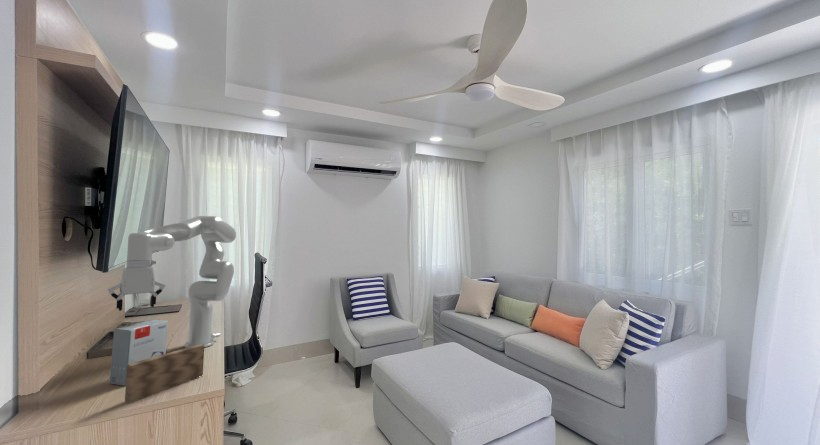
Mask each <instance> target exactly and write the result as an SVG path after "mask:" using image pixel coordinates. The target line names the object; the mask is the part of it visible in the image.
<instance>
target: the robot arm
mask: <svg viewBox="0 0 820 445" xmlns="http://www.w3.org/2000/svg"><path fill="white" fill-rule="evenodd" d="M197 236H200V237H201V239H202V242H203V244H204V246H205V253H204V256H203V259H202V263H201V265H200V268H199V273H198V274H199V276H200V278H202V279H206V280H197V281H195V282H193V283H192V284H190V286H189V288H188V297H189V298H188V299H189V308H190V309H189V321H188V322H189V325H188V338H187V339H188V341H187V342H185V343H184V344H183V347H184V348H188V347H191V346H195V345H198V344H203V345H204V348H208V347H210V346H212V345H214V344H215V338H219V337H221V333H220V332H217V333H213V332H212V328H213V327H212V325H213V310H214V309H213V305H212V302H220V301H221V302H222V301H223V300H225V299H226V297H227V296H228V293H229V290H230V287H231V283H232V280H233V278H234V273H235V268H234V264H233V263H232V262H231V261H228V260H224V256H225V251H224V250H225V249H224V247H223V246H222V243H223V244H229V243H232V242H234V241H235V240H236V237H237V232H236V230H235V228H234V227H233V226H232V225H230V223H228V222H226V221H225V220H224V219H222V218H220V217H219V216H215V215H214V216H213V215H212V216H211V215H199V216H195V217H191V218H190V219H186V220H183V221H181V222H178V223H171V224H167V225H161V226H156V227H151V228H149V229H146V230H143V231H141V232H132V233H130V234H129V235H128V237H127V238H128V240H127V251H126V253H127V254H126V267H124V268H123V269H122V273H121V279H120V283H118V284H116V285H114V286H111V287H108V289H107V291H108V293H109V295H110V296H111V297H112V298H114V299H115V300H116V307H115V308H116V309H118V311H119V312H121V311H122V310H123V303H124V302H123V298H125V296H126V295H139V294H150V295H151V296H150V300H149V302H150V303H149V306H150V307H151V308H154V307H155V305H156V304H157V297H158V296H159V295H160V294H161V293H162V292H163V290H164V289H165V287H166V284H164V283H162V282H161V283H160V282H158V281H156V280H155V270H154V267H153V265H156V264H157V260H152V259H153V257H152V256H153V251H154V252H155V251H157V252H158V251H159V252H163V251H168V250H170V249H171V248H173V246H174V245H175V242H182V241H188V240H190V239H193V238H194V237H197ZM210 280H211V281H210ZM214 280H216V281H214ZM155 286H156V287H157V286H158V287H159V288H158V289H157V290H155ZM117 289H119V294H116V293H115V290H117Z"/></svg>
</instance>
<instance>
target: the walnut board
mask: <svg viewBox="0 0 820 445" xmlns="http://www.w3.org/2000/svg"><path fill="white" fill-rule="evenodd" d="M204 360H205V347H204V345H203V344H198V345H195V346H191V347H188V348H185V347H184V348H181V349H178V350H174V351H171V352H167V353H166V354H163V355H159V356H156V357H152V358H149V359H145V360H141V361H138V362H134V363H131V364H127V375H126V386H125V392H124V402H125V403H127V404H132V403H134V402H137V401H139V400H142V399H145V398H147V396H148V397H150V396H153V395H155V393H156V394H158V393H161V392H163V390H164V391H165V390H166V391H167V390H169V389H172V388H174V386H175V387H177V386H179V384H180V385H182V384H181V383H183V384H185V383H188V382H190V381H189V380H191V381H193V380H195V379H194V378H196V379H198V378H197V377H199V376H201V377H203V376H204V362H205V361H204ZM202 375H203V376H202ZM199 378H200V377H199ZM192 379H193V380H192ZM187 381H188V382H187ZM184 382H185V383H184ZM176 385H177V386H176ZM171 387H172V388H171ZM160 391H161V392H160ZM152 394H153V395H152Z"/></svg>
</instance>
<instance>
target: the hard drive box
mask: <svg viewBox="0 0 820 445" xmlns="http://www.w3.org/2000/svg"><path fill="white" fill-rule="evenodd" d="M168 326H169V320H161V319H150V320H145V321H141V322H137V323H134V324H130V325H125V326H120V327H117V328H114V329H113V339H112V350H111V362H110V365H111V366H110V373H109V374H110V375H109V384H113V385H117V386H118V385H119V386H123V387H124V386H125V387H126V375H127V364H131V363H134V362H138V361H141V360H145V359H149V358H152V357H156V356H159V355H163V354H166V352H167V343H168V342H167V341H168V328H169V327H168Z"/></svg>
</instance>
